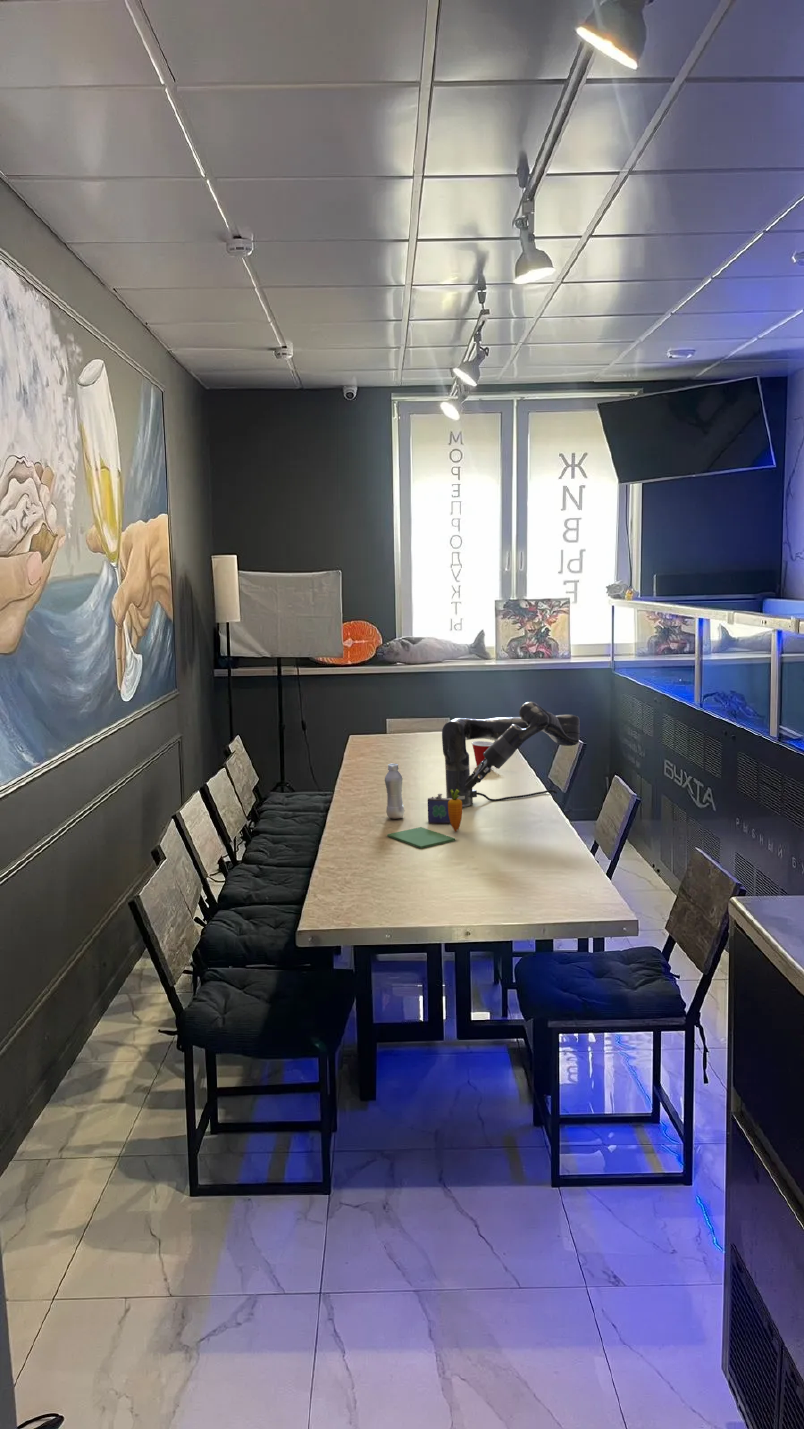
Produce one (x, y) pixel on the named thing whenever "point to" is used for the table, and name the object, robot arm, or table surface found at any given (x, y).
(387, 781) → the plastic bottle
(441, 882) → the table surface
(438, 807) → the flask
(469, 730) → the robot arm
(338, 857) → the table surface
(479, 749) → the plastic cup
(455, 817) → the carrot
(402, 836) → the green mat
